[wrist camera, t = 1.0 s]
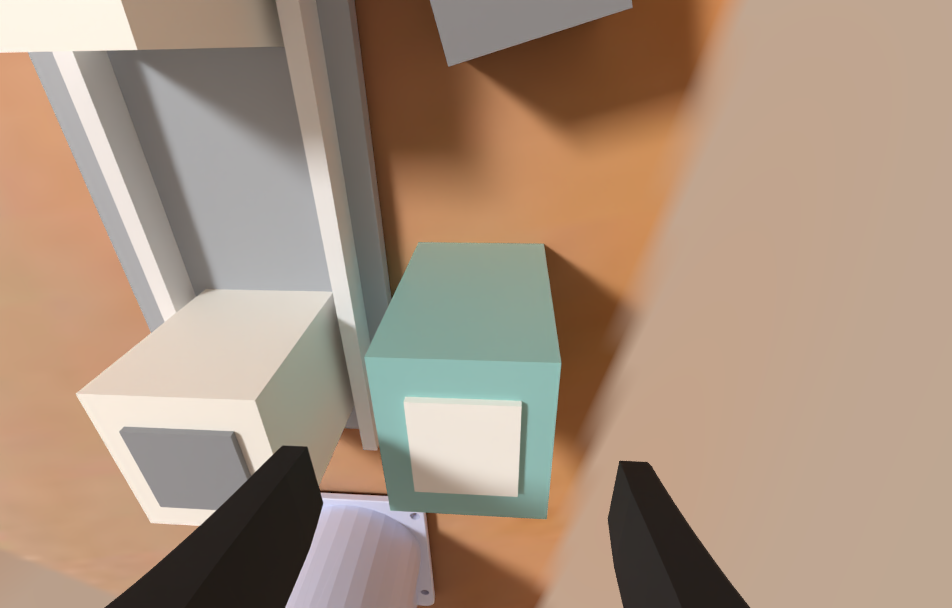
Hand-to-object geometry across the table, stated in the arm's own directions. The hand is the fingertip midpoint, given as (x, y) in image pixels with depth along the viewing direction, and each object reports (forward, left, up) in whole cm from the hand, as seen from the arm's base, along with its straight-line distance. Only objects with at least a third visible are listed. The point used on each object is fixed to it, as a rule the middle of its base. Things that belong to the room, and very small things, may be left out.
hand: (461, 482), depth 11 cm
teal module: (0, 0, -8) cm, 8 cm away
